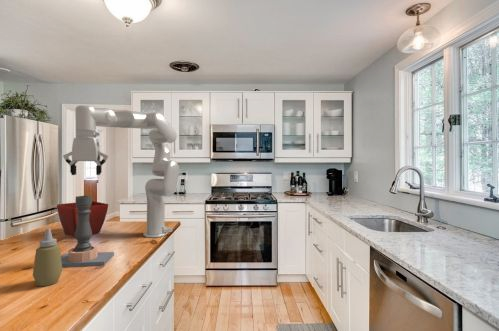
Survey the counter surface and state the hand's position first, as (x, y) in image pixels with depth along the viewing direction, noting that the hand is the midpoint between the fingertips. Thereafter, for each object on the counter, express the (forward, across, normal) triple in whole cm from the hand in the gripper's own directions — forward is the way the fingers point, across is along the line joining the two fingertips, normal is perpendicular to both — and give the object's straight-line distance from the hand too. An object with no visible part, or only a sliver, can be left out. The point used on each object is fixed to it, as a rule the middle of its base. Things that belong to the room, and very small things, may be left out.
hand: (86, 174), depth 119 cm
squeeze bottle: (+35, +2, +27) cm, 44 cm away
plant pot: (+36, +16, -38) cm, 54 cm away
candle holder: (+34, -1, +7) cm, 34 cm away
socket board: (+35, -1, +7) cm, 36 cm away
